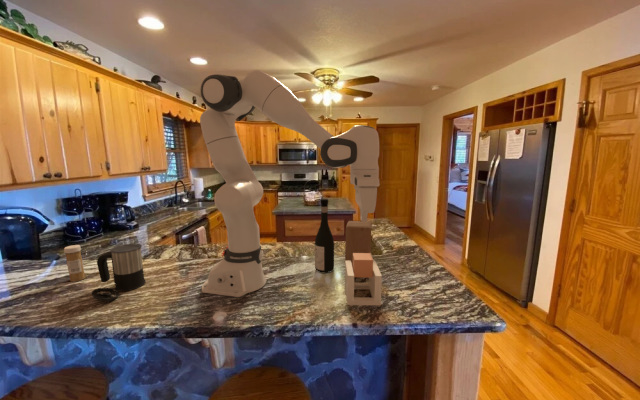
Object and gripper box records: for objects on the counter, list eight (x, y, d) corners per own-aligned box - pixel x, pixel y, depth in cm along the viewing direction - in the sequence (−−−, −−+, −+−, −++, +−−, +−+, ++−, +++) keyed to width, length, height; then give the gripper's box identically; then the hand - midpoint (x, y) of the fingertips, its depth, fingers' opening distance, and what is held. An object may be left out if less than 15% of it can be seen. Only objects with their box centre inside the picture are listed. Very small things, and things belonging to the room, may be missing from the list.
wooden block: (369, 276, 103) (371, 227, 99) (344, 274, 105) (345, 226, 101) (370, 266, 112) (371, 221, 109) (347, 264, 114) (347, 220, 111)
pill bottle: (87, 276, 104) (82, 243, 102) (82, 281, 100) (76, 247, 98) (73, 277, 102) (67, 245, 100) (67, 283, 98) (60, 249, 96)
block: (354, 277, 85) (354, 259, 84) (352, 269, 90) (352, 253, 90) (372, 277, 84) (373, 260, 83) (369, 269, 90) (370, 253, 89)
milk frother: (147, 277, 102) (142, 241, 100) (143, 296, 89) (137, 255, 86) (101, 286, 96) (95, 248, 93) (89, 308, 82) (81, 263, 80)
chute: (347, 304, 83) (347, 275, 81) (345, 286, 95) (345, 260, 93) (380, 305, 83) (381, 276, 81) (374, 286, 95) (375, 260, 93)
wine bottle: (319, 275, 104) (319, 201, 99) (312, 267, 111) (311, 198, 106) (337, 271, 107) (337, 200, 102) (329, 264, 114) (329, 197, 109)
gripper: (351, 175, 92) (351, 213, 95) (357, 181, 72) (357, 229, 75) (369, 175, 92) (368, 213, 95) (380, 181, 72) (379, 229, 74)
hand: (363, 220), depth 84 cm, fingers closed
